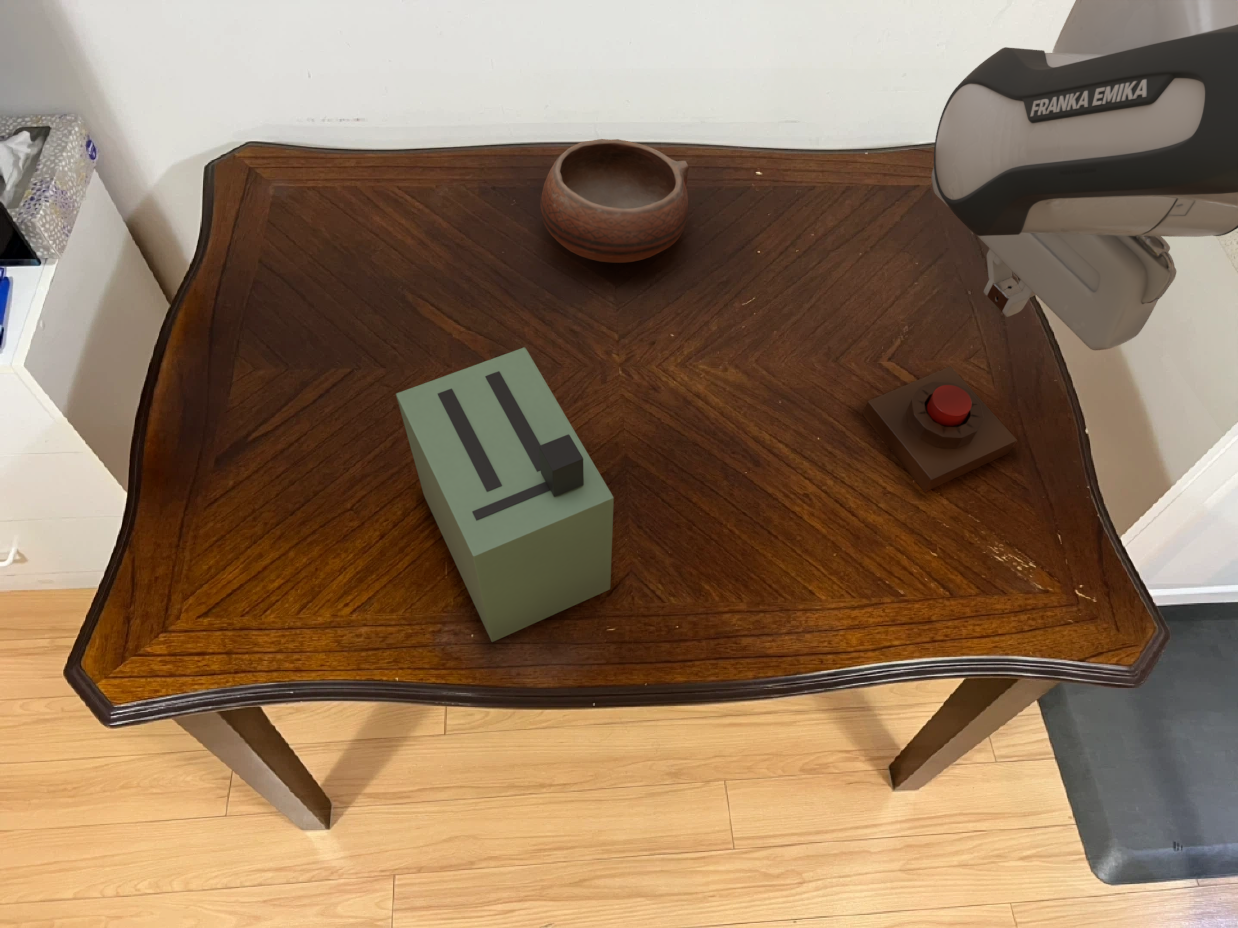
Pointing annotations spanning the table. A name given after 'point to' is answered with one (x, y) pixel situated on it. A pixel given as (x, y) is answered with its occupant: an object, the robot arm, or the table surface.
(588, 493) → the toaster
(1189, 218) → the robot arm
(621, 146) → the bowl
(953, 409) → the button
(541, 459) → the toaster slider
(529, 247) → the table surface
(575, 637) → the table surface
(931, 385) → the control block
